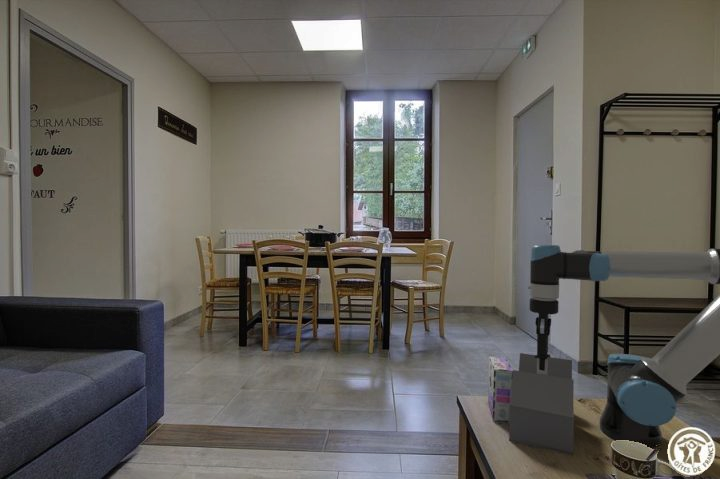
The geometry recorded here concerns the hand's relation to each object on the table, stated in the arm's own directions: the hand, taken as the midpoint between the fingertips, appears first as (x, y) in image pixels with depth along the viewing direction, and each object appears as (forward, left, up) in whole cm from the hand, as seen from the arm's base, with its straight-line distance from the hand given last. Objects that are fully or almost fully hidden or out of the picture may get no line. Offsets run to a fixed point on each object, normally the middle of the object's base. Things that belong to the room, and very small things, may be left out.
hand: (541, 380), depth 115 cm
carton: (0, -3, -17) cm, 17 cm away
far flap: (0, -16, -2) cm, 16 cm away
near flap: (0, +4, -2) cm, 5 cm away
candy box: (+13, -10, -17) cm, 24 cm away
